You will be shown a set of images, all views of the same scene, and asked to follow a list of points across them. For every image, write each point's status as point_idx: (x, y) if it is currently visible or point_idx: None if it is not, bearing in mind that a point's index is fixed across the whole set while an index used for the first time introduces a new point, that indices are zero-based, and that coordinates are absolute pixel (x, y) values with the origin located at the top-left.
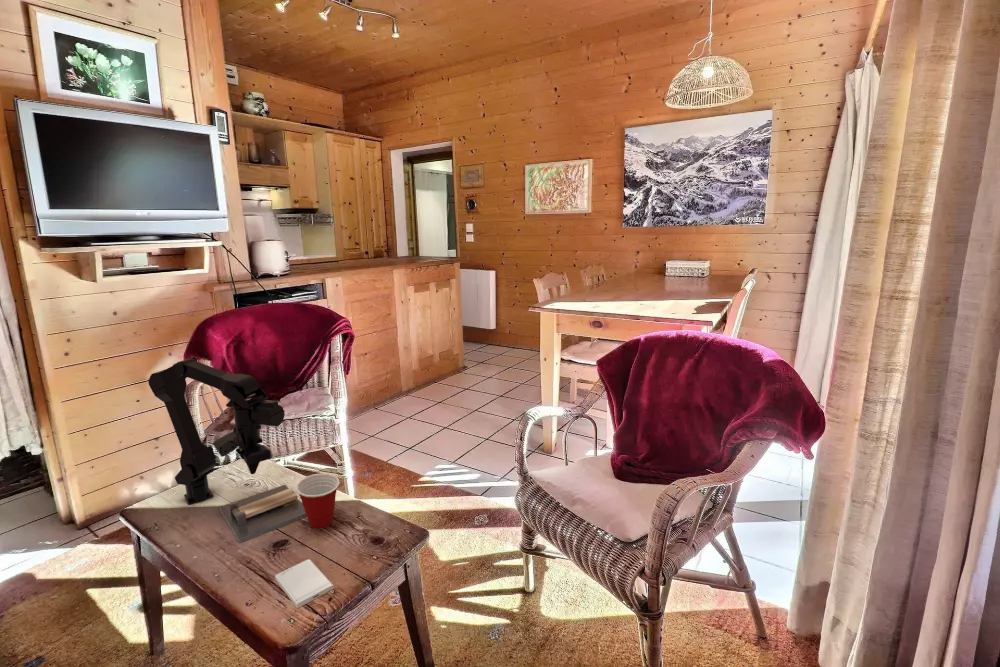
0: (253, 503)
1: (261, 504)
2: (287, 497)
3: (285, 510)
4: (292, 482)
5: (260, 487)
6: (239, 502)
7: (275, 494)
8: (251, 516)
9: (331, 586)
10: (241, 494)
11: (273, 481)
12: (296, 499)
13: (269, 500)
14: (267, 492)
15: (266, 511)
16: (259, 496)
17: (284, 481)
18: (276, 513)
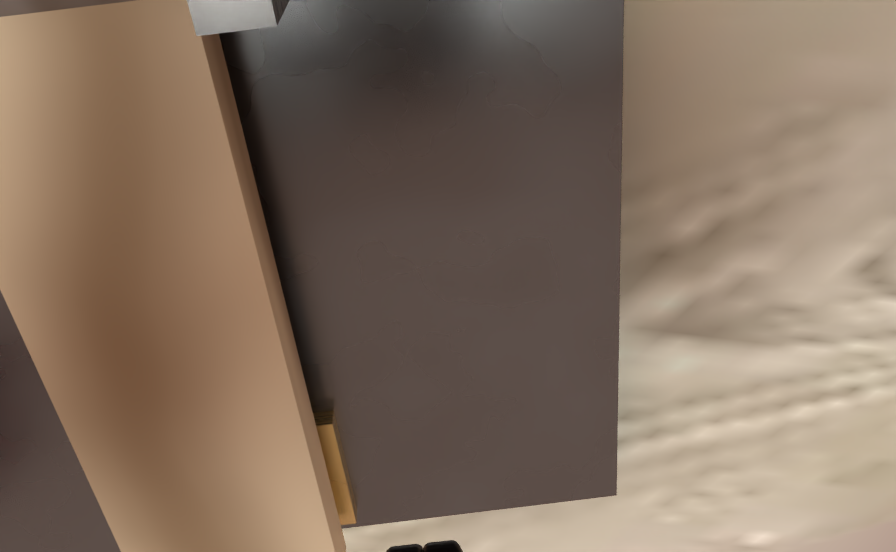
0: (204, 211)
1: (111, 294)
2: (137, 535)
3: (36, 433)
4: (661, 523)
5: (817, 282)
6: (547, 26)
7: (288, 453)
8: None
9: None
10: (835, 72)
11: (833, 401)
12: None
13: (170, 383)
14: (569, 344)
15: None
16: (534, 262)
17: (741, 476)
18: (3, 358)
